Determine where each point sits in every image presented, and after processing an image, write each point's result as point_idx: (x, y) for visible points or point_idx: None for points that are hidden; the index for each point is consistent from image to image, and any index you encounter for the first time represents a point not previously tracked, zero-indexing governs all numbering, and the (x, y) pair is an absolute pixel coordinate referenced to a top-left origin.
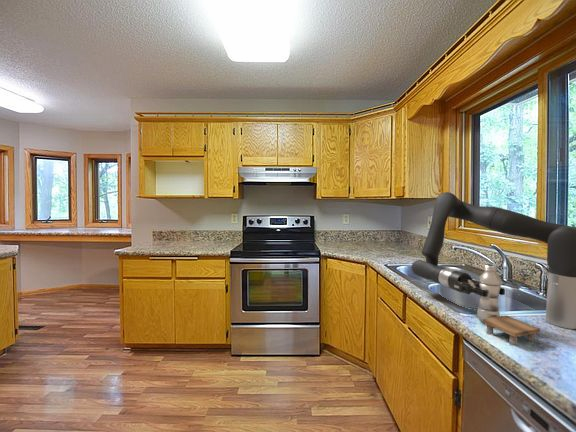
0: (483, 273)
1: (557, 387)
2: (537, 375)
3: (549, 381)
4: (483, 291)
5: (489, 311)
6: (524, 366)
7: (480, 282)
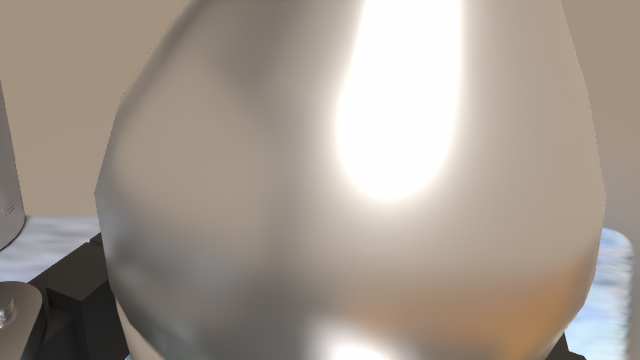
0: (555, 49)
1: (611, 241)
2: (619, 271)
3: (608, 252)
4: (571, 356)
5: None
6: (619, 298)
7: (559, 335)
